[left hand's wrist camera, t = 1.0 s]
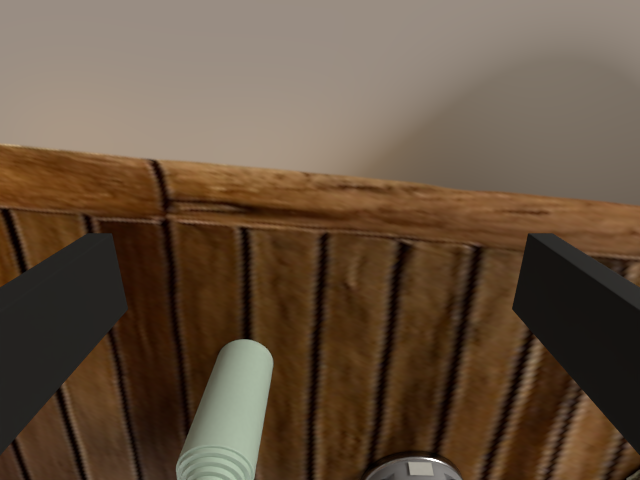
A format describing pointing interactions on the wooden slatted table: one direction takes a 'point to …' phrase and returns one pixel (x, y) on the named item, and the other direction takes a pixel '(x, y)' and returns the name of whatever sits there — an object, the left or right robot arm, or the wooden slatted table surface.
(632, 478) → the fossil
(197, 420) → the bottle
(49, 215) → the wooden slatted table surface
